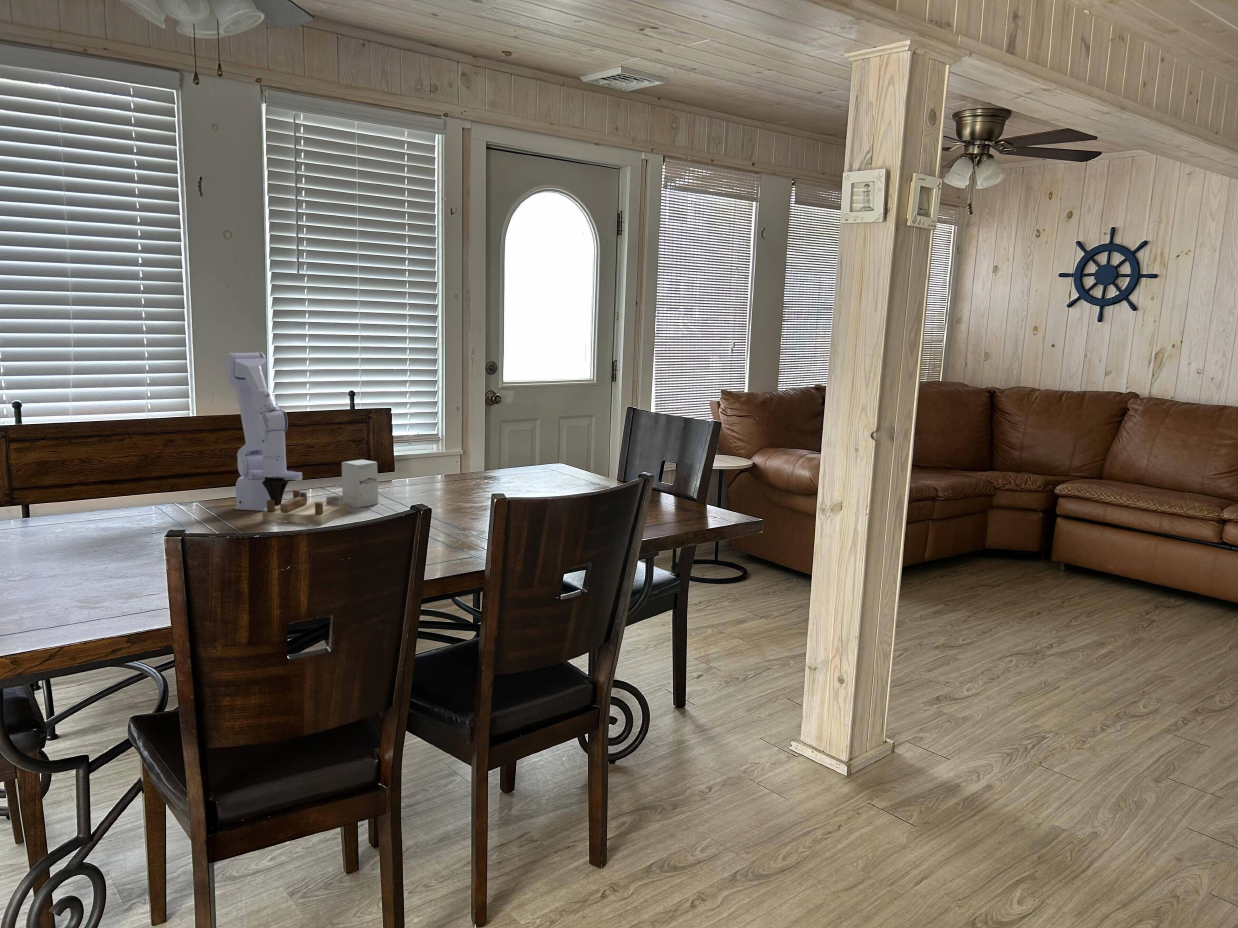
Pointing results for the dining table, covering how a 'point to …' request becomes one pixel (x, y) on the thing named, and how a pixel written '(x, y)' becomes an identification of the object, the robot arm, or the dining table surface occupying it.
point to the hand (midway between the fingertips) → (276, 505)
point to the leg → (294, 503)
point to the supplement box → (360, 483)
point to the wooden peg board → (308, 511)
